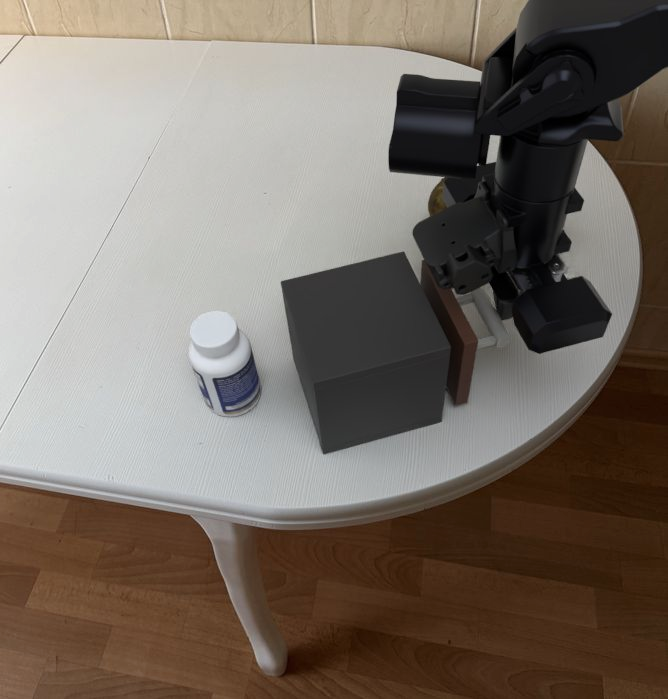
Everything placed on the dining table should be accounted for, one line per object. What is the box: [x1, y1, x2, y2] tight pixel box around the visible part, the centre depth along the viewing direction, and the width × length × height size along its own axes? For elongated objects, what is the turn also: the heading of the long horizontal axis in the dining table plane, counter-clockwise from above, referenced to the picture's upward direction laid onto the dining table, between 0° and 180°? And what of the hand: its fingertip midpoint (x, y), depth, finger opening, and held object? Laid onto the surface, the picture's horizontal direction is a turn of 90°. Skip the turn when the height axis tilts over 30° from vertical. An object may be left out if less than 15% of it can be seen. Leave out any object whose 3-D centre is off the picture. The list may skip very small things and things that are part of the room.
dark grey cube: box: [280, 251, 451, 455], centre depth 61 cm, size 11×11×11 cm
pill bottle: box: [188, 310, 262, 418], centre depth 62 cm, size 5×5×10 cm
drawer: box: [419, 259, 513, 407], centre depth 62 cm, size 14×10×9 cm
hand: (504, 316), depth 63 cm, fingers closed, pressing on drawer
